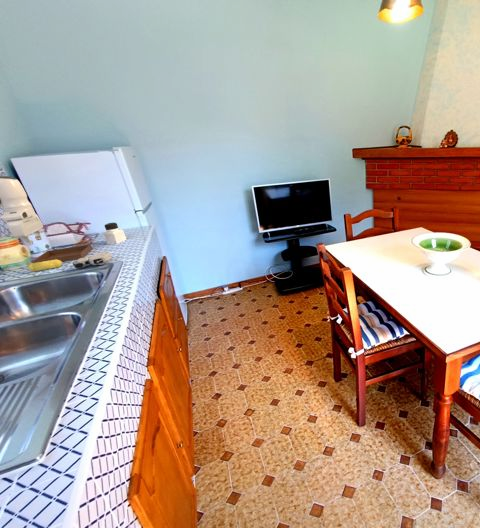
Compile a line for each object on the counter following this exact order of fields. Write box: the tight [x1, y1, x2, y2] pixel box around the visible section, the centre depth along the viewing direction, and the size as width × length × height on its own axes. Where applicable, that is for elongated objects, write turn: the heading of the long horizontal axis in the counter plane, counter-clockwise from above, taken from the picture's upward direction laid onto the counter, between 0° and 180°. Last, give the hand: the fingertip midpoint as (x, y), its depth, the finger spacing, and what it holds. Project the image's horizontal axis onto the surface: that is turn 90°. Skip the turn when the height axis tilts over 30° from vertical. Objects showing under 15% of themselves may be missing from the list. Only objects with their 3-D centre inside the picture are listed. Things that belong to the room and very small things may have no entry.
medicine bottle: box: [102, 222, 127, 245], centre depth 180 cm, size 7×7×12 cm
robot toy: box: [70, 250, 112, 269], centre depth 146 cm, size 12×4×15 cm
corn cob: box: [27, 260, 63, 272], centre depth 143 cm, size 12×4×4 cm, turn 117°
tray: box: [31, 244, 93, 264], centre depth 160 cm, size 19×19×3 cm
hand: (35, 242), depth 139 cm, fingers open, 8 cm apart
